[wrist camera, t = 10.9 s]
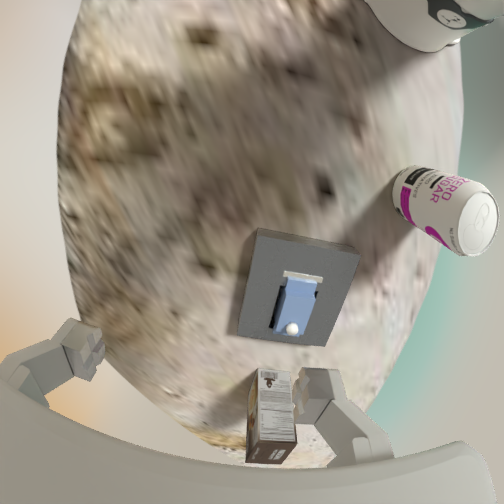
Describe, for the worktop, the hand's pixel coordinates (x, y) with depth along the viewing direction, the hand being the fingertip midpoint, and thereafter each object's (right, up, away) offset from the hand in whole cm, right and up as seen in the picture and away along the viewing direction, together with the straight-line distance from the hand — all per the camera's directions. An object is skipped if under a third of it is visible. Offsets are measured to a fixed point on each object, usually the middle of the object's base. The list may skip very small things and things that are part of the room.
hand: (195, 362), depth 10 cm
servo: (+8, -3, +30) cm, 32 cm away
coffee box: (+5, -21, +39) cm, 45 cm away
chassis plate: (+8, -1, +30) cm, 31 cm away
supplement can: (+25, +13, +24) cm, 37 cm away
